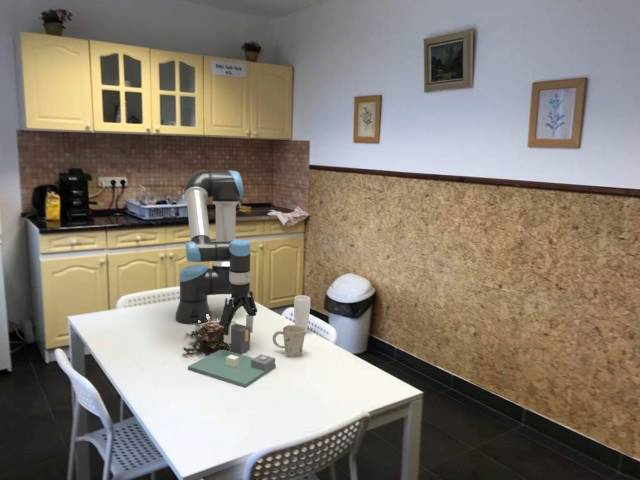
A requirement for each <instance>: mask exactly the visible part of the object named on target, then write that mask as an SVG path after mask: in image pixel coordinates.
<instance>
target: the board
mask: <svg viewBox="0 0 640 480" xmlns="http://www.w3.org/2000/svg"><path fill="white" fill-rule="evenodd" d="M276 368H277V364H276V358H275V357H272V356H269V355H265V354H262V353H260V354H259V355H257V356H256V357H251V356H248V355H243V354H237V353H234V352H230V351H227V349H223V350H221V349H219V350H216V351H215V352H213V353H211V354H209V355H207V356H205V357H202V358H201V359H199V360H197V361H195V362H193V363H192V364H189V365H188V366H187V370H189V371H192V372H194V373H198V374H201V375H205V376H208V377H211V378H214V379H218V380H220V381H223V382H227V383H229V384H230V383H231V384H233V385H236V386H239V387H243V388H247V387H248V386H250V385H251V384H253V383H255V382H256V381H257V380H259V379H261V378H262V377H264V376H265V375H267V374H268V373H269V372H271V371H273V370H274V369H276Z"/></svg>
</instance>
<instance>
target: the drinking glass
mask: <svg viewBox="0 0 640 480" xmlns="http://www.w3.org/2000/svg"><path fill="white" fill-rule="evenodd" d="M293 311H294V312H293V313H294V325H299V326H303V327H304V328H305V334H306V333H308V329H309V320H310V319H309V318H310V313H311V312H310V311H311V297H310V296H308V295H304V294H303V295H302V294H301V295H295V297H294V301H293Z"/></svg>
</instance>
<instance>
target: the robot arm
mask: <svg viewBox="0 0 640 480" xmlns="http://www.w3.org/2000/svg"><path fill="white" fill-rule="evenodd" d="M183 197H184V200H185V201H186V204H187V216H188V230H189V237H190V238H189V240H190V241H188V242H186V244H185V259H186V261H187V262H189V263H198V264H191V265H188V266H185V267H183V268H182V269H181V270H180V271H179V278H178V281H179V303H178V306H177V309H176V312H175V321H176V322H178V323H182V324H187V325H198V324H197V323H198V320H200V321H201V323H200V324H204V323H206V320H207V318H206V314H209V316H210V317H211V318H212V312H211V310H210V306H209V303H208V296H211V295H212V296H215V295H227V296H229V295H231V296H230V298H229V297H228V298H227V297H226V298H225V300H224V306H223V309H222V313H221V316H220V318H219V324H218V325H219V326H222V330H223V331H222V332H223V333H222V334H223V343H225V344H227V343H229V344H230V343H231V326H232V325H231V323H232V322H233V319H234V316H235V314H236V312H237V311H238V310H239V309H240V308H241V307H243V309H244V311H245V312H246V314H247V315H245V316H246V317H245V318H246V319H245V326H248V327H250V334H253V333H254V317H255V316H257V313H258V308H257V305H256V302H255V299H254V293H253V291H251V290H250V289H251V283H250V281H251V278H250V277H251V252H252V249H251V242H250V241H249V240H245V239H236V237H237V236H236V233H237V231H236V225H237V224H236V223H237V221H236V220H237V216H236V211H237V210H236V208H237V207H236V206H237V205H238V204H239V203H240V199H242V198H243V197H244V185H243V180H242V176H241V174H240V172H238V171H237V170H230V169H229V170H221V169H220V170H217V169H216V170H212V169H211V170H210V169H203V170H202V169H201V170H199V171H196V172H194V173H193V174H192V175H191V176H190V177H189V178H188V179H187V181H186V183H185V184H184V188H183ZM208 198H211V201H212V203H213V205H215V241H212V240H211V232H210V231H211V230H210V223H209V215H208V214H209V213H208V208H207V207H208V205H207V199H208ZM205 262H213V263H212V265H211V268H208V265H206V264H199V263H205Z"/></svg>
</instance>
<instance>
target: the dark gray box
mask: <svg viewBox="0 0 640 480" xmlns="http://www.w3.org/2000/svg"><path fill="white" fill-rule="evenodd" d="M230 326H231V343H230V344H229V343H228V344H229V345H230V346H231V348H232V349H231V350H230V352H234V353H237V354H241V355H243V354H245V353H247V352H248V351H250V350H251V333H250V327H248V326H246V325H245V324H244V325H243V324H240V323H234V324H232V325H230Z"/></svg>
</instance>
